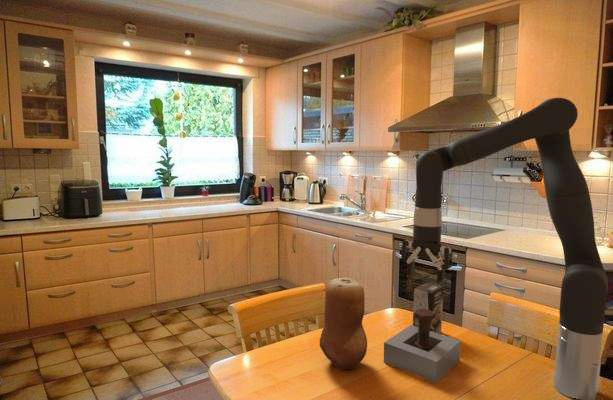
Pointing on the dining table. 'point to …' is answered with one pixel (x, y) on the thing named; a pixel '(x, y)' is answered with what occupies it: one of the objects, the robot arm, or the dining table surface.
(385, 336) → the dining table surface
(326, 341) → the butternut squash
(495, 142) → the robot arm
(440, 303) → the coffee box
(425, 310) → the bolt
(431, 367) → the socket block
